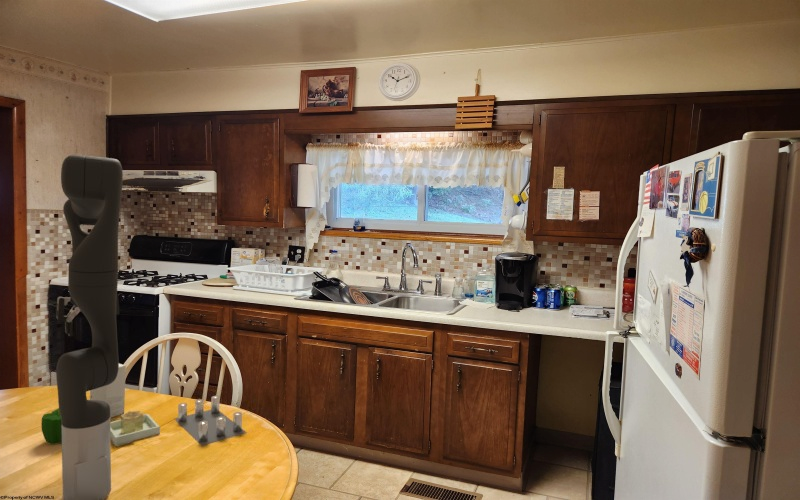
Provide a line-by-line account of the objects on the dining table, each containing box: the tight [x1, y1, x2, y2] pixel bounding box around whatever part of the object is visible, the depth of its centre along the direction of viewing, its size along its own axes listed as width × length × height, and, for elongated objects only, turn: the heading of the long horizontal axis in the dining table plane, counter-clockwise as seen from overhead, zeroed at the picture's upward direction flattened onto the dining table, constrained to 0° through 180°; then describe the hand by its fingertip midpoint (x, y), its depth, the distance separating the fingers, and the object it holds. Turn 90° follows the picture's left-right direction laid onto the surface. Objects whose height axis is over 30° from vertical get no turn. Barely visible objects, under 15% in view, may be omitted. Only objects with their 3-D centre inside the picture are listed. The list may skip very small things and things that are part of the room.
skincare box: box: [89, 363, 127, 419], centre depth 155 cm, size 8×7×16 cm
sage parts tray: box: [110, 413, 161, 447], centre depth 143 cm, size 11×11×2 cm
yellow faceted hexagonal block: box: [120, 410, 144, 435], centre depth 143 cm, size 6×5×5 cm
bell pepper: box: [40, 407, 62, 445], centre depth 137 cm, size 8×8×10 cm
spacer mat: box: [174, 409, 247, 447], centre depth 149 cm, size 22×13×1 cm, turn 43°
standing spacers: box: [177, 395, 243, 442], centre depth 148 cm, size 18×12×5 cm
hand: (89, 333), depth 135 cm, fingers open, 8 cm apart
